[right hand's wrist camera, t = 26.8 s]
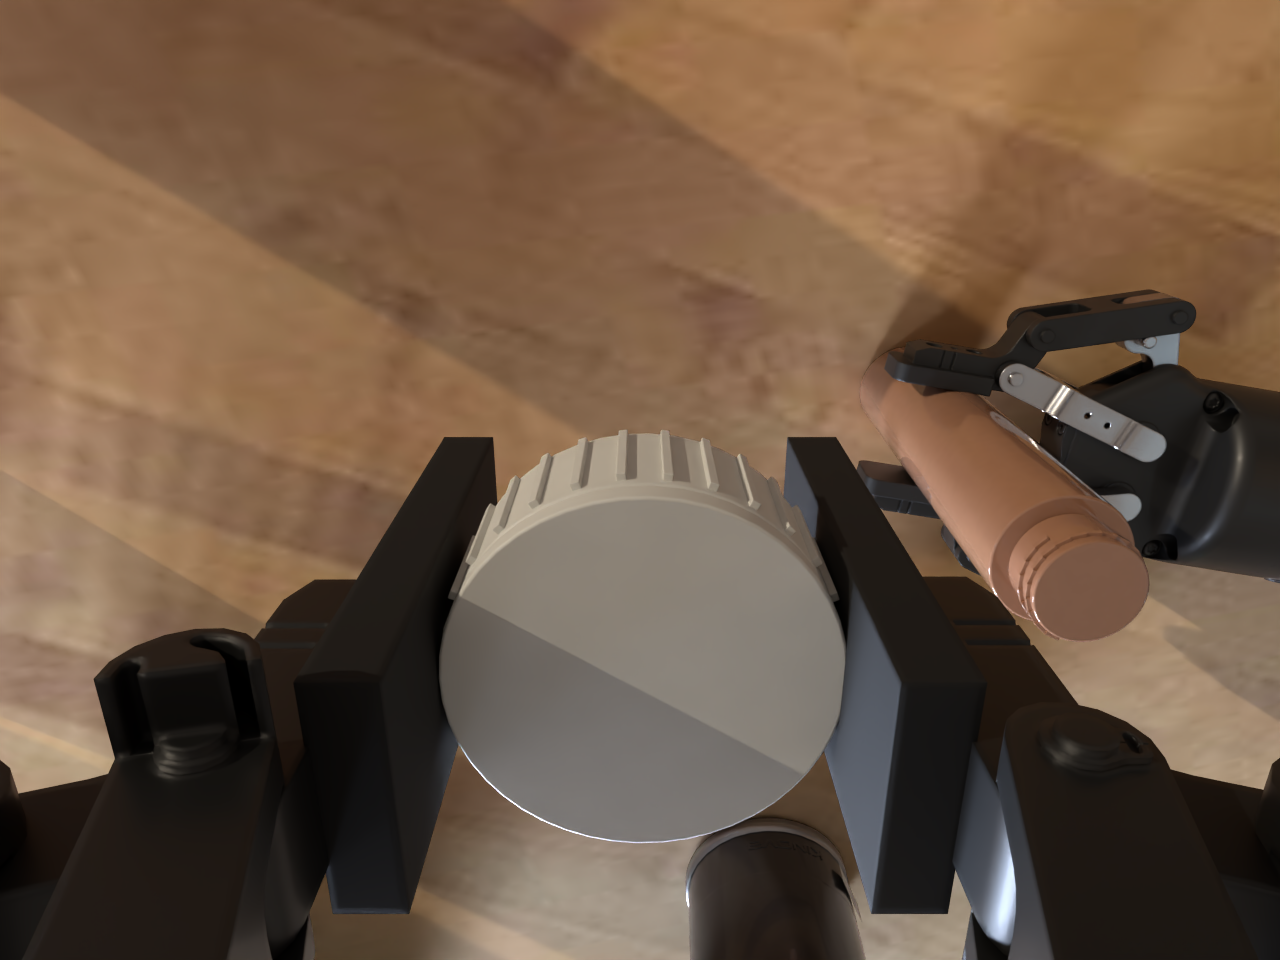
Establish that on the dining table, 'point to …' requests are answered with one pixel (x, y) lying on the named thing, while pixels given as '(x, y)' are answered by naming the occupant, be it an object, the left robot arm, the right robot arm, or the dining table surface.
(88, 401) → the dining table surface
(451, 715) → the lid
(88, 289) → the dining table surface
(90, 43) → the dining table surface
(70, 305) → the dining table surface
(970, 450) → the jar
